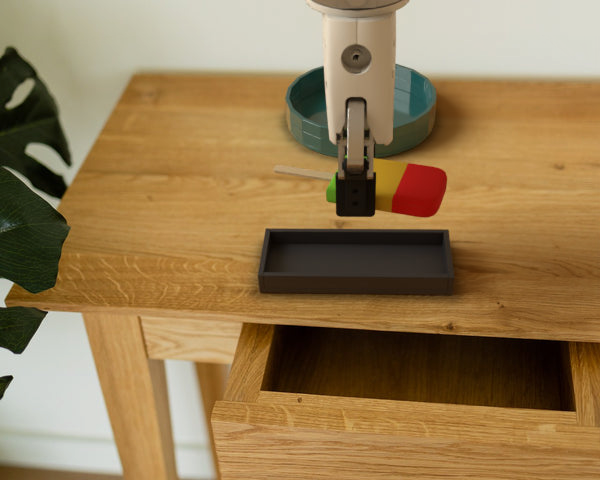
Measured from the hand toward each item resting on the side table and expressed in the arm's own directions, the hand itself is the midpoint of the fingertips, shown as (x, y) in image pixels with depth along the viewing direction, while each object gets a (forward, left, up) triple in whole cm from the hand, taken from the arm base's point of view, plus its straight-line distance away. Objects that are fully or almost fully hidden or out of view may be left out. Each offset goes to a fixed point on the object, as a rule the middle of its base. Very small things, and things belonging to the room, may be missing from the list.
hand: (356, 188), depth 65 cm
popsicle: (0, 0, 0) cm, 0 cm away
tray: (0, 0, -9) cm, 9 cm away
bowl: (-10, -26, -9) cm, 29 cm away
